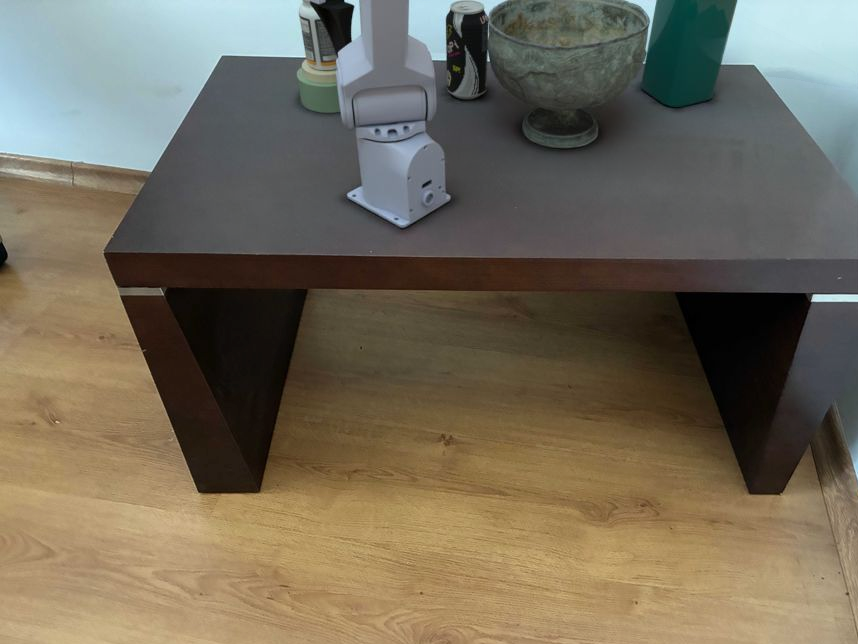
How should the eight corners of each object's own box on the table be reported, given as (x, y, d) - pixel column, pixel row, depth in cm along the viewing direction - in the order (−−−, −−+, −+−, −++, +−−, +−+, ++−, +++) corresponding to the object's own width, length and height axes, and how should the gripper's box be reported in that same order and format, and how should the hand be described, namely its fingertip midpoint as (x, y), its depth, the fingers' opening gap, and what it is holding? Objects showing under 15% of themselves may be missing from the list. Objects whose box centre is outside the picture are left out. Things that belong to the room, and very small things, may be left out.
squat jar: (377, 97, 101) (374, 62, 98) (329, 119, 97) (324, 83, 93) (336, 79, 106) (332, 45, 102) (287, 99, 101) (281, 64, 97)
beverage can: (439, 89, 103) (437, 2, 95) (474, 81, 105) (475, -5, 97) (459, 105, 100) (458, 16, 91) (494, 96, 102) (496, 8, 93)
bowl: (580, 86, 104) (593, -25, 94) (660, 145, 92) (686, 25, 81) (458, 113, 98) (457, -3, 87) (526, 180, 86) (535, 55, 75)
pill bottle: (352, 55, 99) (344, -21, 92) (343, 73, 95) (334, -6, 88) (312, 54, 100) (301, -23, 93) (301, 71, 96) (289, -8, 89)
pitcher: (634, 86, 104) (664, -85, 88) (682, 76, 107) (719, -93, 91) (675, 115, 98) (715, -65, 82) (724, 103, 100) (772, -73, 85)
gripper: (379, -95, 84) (388, 24, 93) (280, -69, 76) (300, 58, 86) (422, -84, 80) (427, 38, 90) (323, -56, 73) (339, 75, 82)
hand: (368, 49), depth 88 cm, fingers open, 7 cm apart
